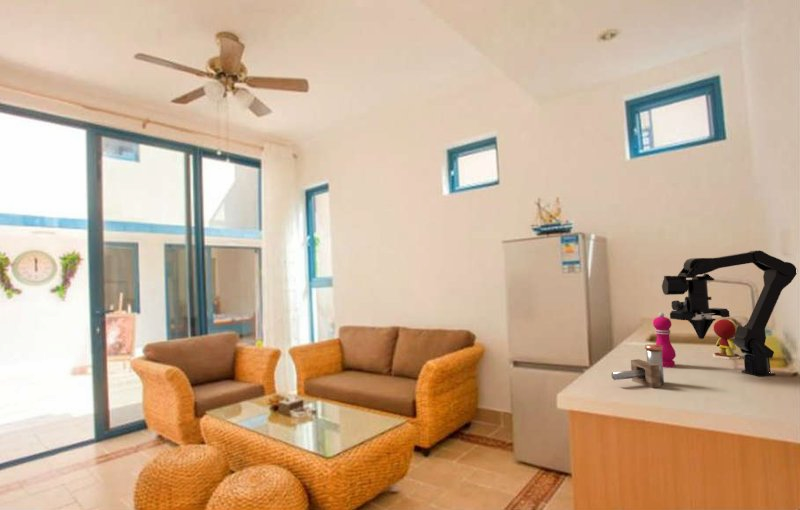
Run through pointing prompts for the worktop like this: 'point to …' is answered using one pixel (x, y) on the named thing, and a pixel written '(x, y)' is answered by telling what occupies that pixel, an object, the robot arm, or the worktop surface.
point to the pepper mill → (664, 339)
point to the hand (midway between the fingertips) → (701, 338)
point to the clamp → (652, 356)
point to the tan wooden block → (647, 373)
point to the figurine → (725, 339)
